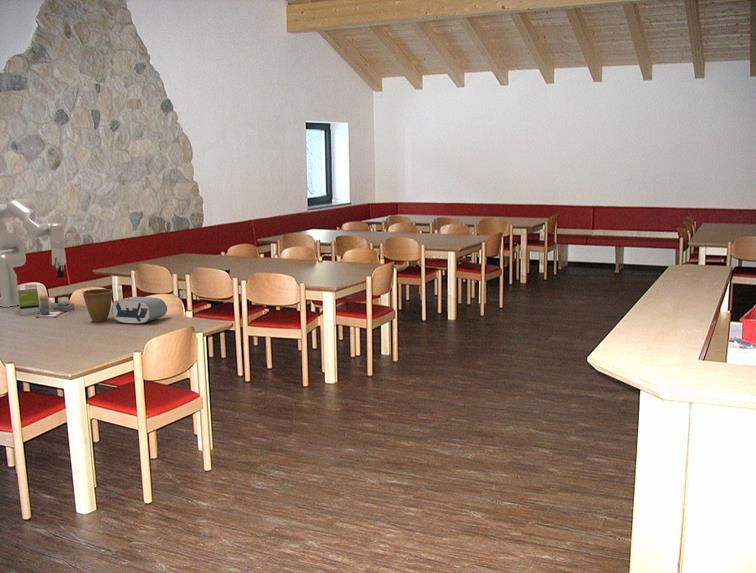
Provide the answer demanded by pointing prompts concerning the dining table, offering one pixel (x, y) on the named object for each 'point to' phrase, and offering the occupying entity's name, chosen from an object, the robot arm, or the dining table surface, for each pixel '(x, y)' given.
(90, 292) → the plant pot
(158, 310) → the pencil case
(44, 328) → the dining table surface
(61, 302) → the button
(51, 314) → the clipboard
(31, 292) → the tea box
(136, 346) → the dining table surface
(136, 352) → the dining table surface
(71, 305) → the button housing
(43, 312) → the marker
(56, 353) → the dining table surface
